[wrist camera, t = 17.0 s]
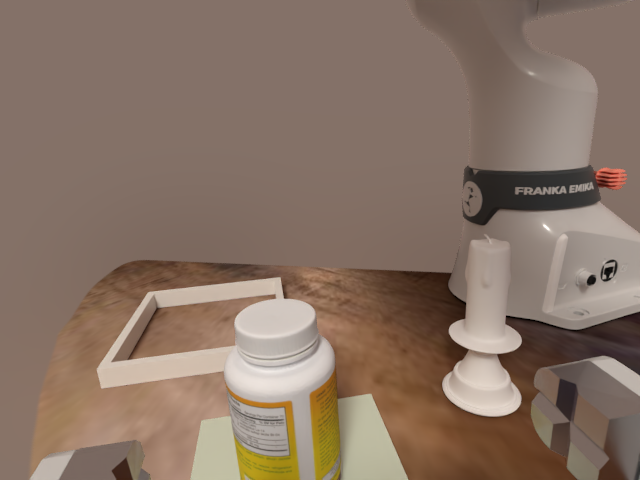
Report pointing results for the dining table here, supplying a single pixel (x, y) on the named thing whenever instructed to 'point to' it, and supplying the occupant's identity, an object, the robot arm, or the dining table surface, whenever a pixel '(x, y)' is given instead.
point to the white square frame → (178, 365)
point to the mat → (355, 441)
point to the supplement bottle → (283, 394)
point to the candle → (484, 335)
